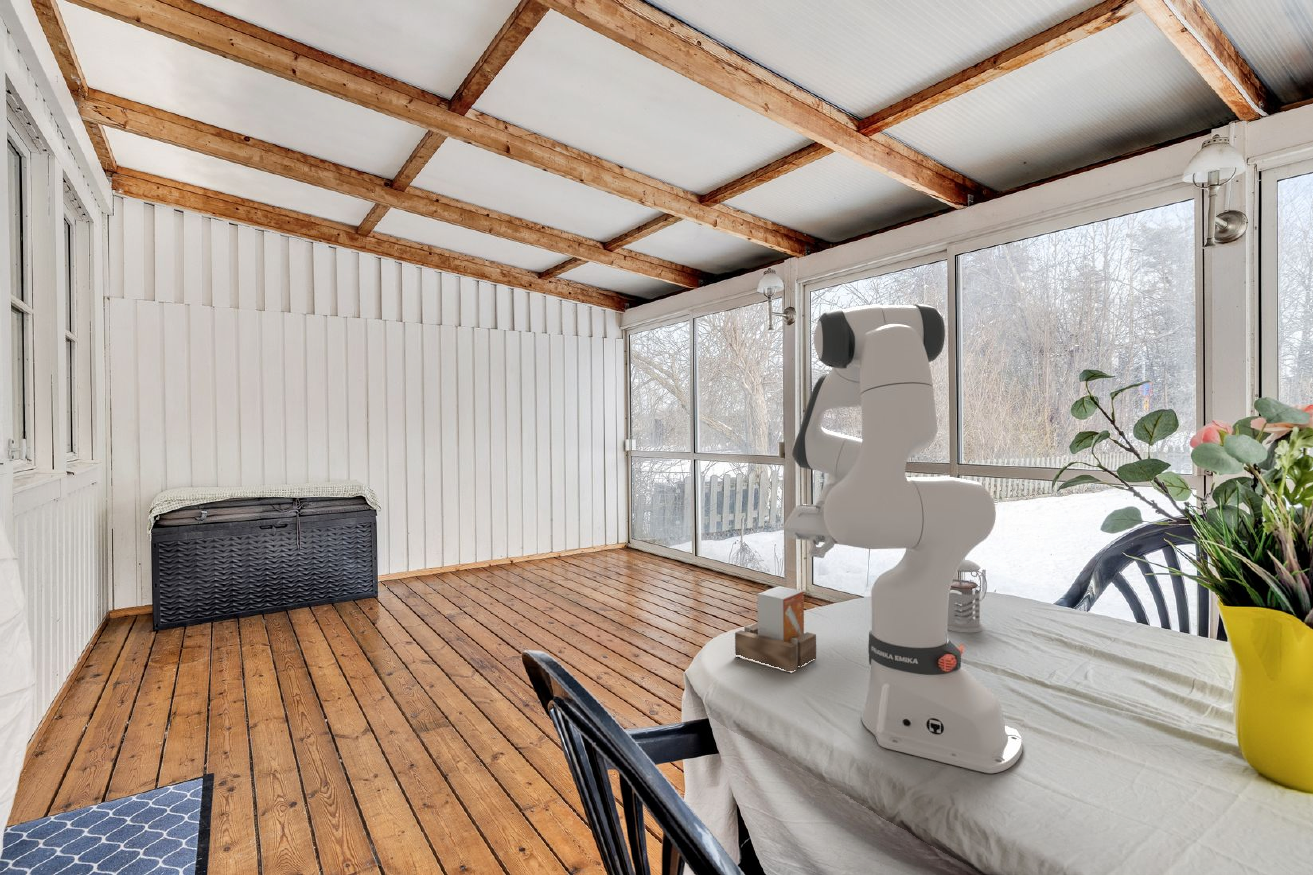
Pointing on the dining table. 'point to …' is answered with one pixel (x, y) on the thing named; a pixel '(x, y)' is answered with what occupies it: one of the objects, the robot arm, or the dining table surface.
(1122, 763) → the dining table surface
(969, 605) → the french press
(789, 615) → the small box
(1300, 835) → the dining table surface
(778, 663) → the brown u-shaped piece
